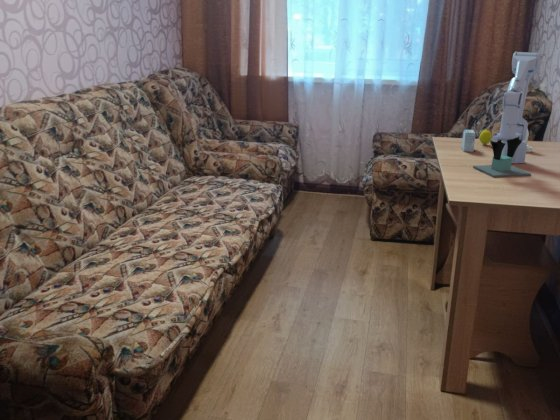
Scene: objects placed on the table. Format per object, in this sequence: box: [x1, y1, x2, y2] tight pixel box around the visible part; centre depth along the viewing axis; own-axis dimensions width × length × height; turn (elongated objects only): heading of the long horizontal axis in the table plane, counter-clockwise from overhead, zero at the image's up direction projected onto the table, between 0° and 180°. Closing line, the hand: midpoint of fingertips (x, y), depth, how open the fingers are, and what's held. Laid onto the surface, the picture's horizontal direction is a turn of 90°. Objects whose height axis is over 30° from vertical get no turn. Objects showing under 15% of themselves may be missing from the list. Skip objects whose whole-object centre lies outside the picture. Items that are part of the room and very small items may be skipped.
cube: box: [491, 155, 513, 172], centre depth 209 cm, size 5×5×5 cm
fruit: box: [478, 128, 493, 146], centre depth 253 cm, size 6×6×8 cm
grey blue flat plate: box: [472, 164, 532, 178], centre depth 209 cm, size 16×14×1 cm
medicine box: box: [461, 129, 477, 153], centre depth 242 cm, size 8×4×9 cm, turn 168°
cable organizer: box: [524, 128, 533, 153], centre depth 244 cm, size 5×10×10 cm, turn 90°
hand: (503, 158), depth 208 cm, fingers open, 7 cm apart
